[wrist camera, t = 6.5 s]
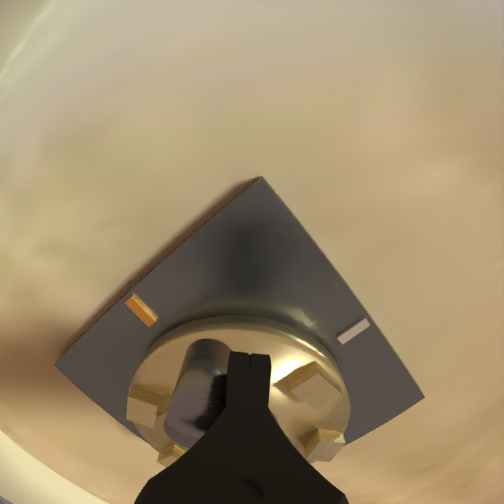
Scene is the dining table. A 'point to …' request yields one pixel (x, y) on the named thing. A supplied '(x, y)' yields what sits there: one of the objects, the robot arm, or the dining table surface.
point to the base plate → (245, 310)
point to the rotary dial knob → (214, 385)
